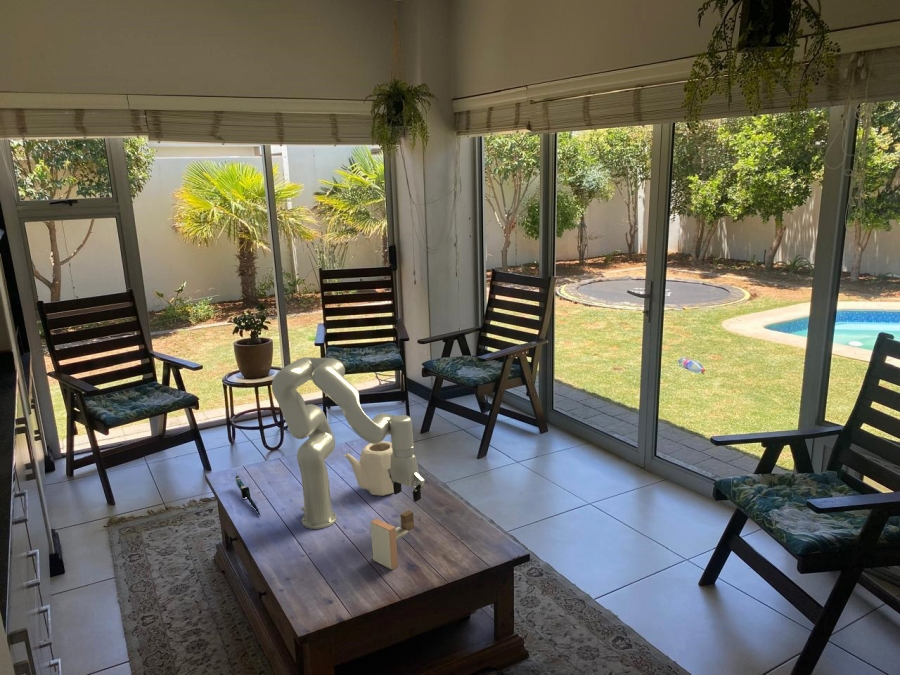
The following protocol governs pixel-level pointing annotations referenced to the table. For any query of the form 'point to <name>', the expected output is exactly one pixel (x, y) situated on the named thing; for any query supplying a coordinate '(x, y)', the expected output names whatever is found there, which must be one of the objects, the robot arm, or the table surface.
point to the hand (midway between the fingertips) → (407, 496)
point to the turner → (405, 524)
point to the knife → (245, 492)
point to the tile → (384, 543)
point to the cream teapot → (374, 468)
